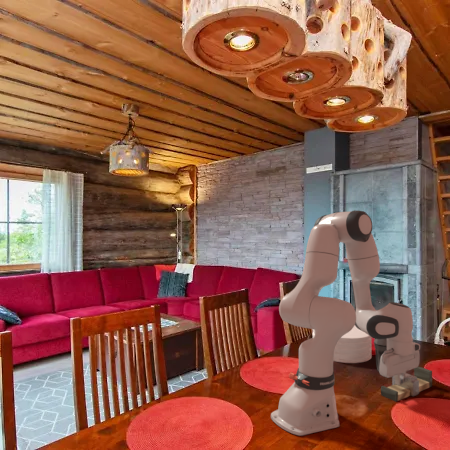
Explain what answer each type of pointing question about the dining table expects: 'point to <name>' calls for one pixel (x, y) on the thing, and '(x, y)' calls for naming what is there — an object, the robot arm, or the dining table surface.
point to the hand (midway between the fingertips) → (399, 383)
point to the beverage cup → (379, 349)
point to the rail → (400, 392)
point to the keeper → (409, 384)
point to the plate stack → (352, 347)
